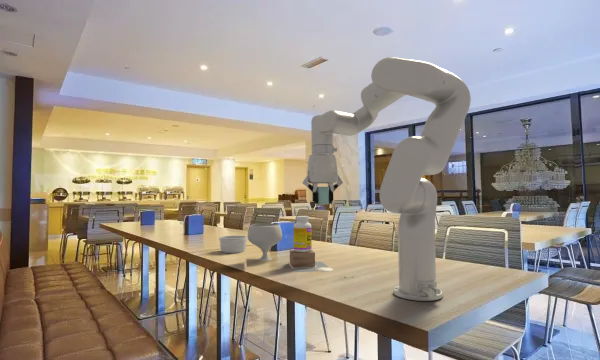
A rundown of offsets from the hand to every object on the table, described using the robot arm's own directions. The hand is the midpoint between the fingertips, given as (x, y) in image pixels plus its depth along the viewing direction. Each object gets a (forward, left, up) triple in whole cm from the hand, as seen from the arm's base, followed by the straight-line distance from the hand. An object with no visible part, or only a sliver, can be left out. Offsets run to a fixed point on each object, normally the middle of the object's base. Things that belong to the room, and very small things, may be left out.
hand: (322, 203), depth 122 cm
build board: (+6, +4, -24) cm, 25 cm away
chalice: (+24, +18, -24) cm, 39 cm away
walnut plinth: (+9, +6, -23) cm, 25 cm away
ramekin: (+54, +31, -24) cm, 67 cm away
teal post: (0, 0, 0) cm, 0 cm away
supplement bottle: (+9, +6, -18) cm, 21 cm away
